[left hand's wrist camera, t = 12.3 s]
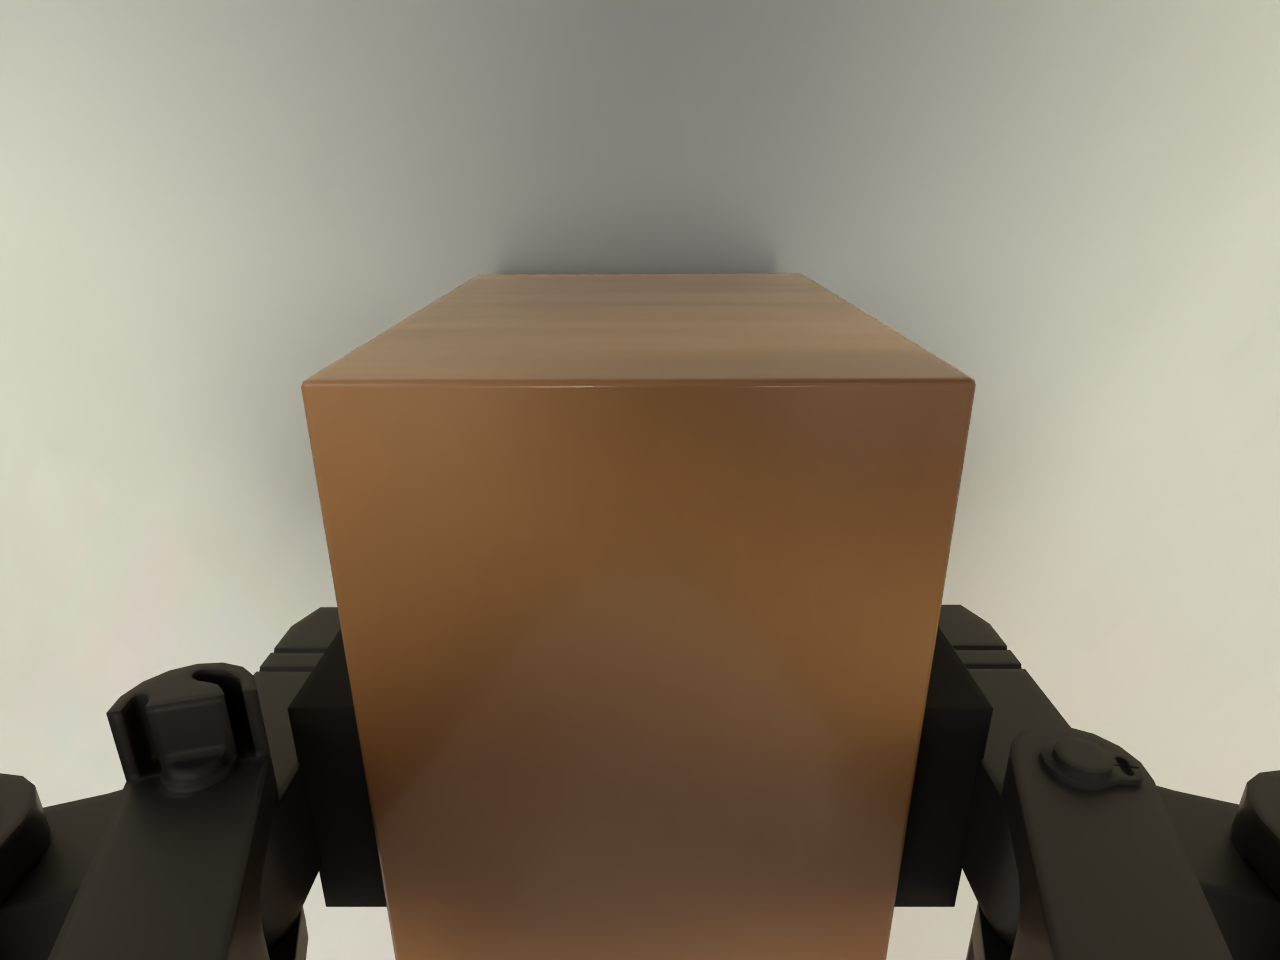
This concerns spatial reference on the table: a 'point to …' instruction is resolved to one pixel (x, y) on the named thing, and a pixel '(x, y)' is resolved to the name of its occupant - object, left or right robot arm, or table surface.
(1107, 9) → the table surface
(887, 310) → the table surface
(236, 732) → the left robot arm
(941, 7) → the table surface
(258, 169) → the table surface
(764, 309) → the beam
